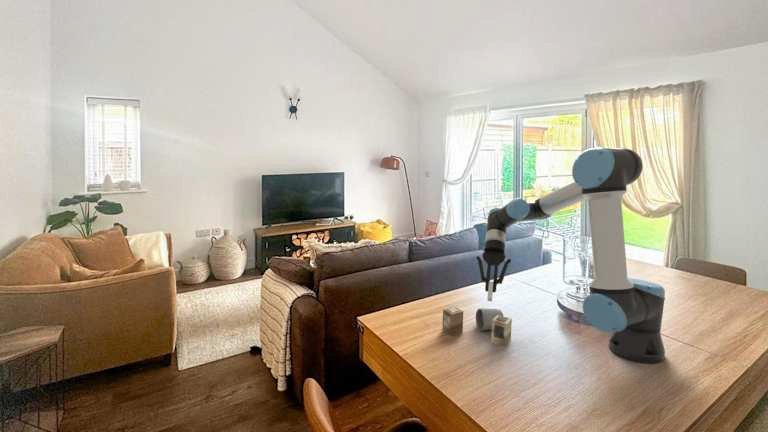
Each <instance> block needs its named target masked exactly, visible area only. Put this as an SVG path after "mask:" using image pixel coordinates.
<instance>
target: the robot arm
mask: <svg viewBox="0 0 768 432" xmlns="http://www.w3.org/2000/svg"><path fill="white" fill-rule="evenodd" d="M643 167H644V166H643V161H642V158H641V157H640V155H639V154H638V153H637V152H636V151H634V150H633V149H630V148H626V147H604V146H603V147H601V146H600V147H591V148H588V149H586V150H584V151H582V152H581V153H580V154H579V155H578V156H577V158H576V159H575V160H574V162H573V165H572V170H571V175H572V178H573V179H572V180H573V181H571V182H569V183H567V184H565V185H563V186H560V187H558V188H557V189H555V190H552V191H551V192H549V193H547V194H545V195H543V196H541V197H539V198H537V199H535V200H529V201H528V200H526V199H525V198H524V199H523V198H522V197H516V198H514V199H513V200H511V201H509V202H508V203H507V204H506V205H504V206H503V207H495V208H491V209H490V210H489V211H488V216H487V223H486V234H485V243H484V251H483V252H482V255H481V256H479V255H477V256H476V258H475V259H476V262H477V264H478V268H479V273H480V281H481V282H482V283H485V288H484V289H485V292H486V293H487V302H493V294H494V293H496V292H497V286H498V285H502V284H503V281H504V279H505V276H506V273H507V271H508V268H509V267H510V266H511V265H512V259H511V258H507V257H506V253H505V249H506V239H507V229H508V228H509V227H512V226H513V225H515V224H516V223H518V222H519V223H520V222H528V221H539V220H541V221H542V220H546V219H548V218H551V217H552V215H553V214H555V213H557V212H560V211H561V210H564V209H566V208H569V207H571V206H573V205H575V204H578V203H580V202H582V201H586V200H587V202H588V212H589V213H588V214H589V225H590V226H589V227H590V237H591V239H590V241H591V252H592V264H593V275H594V277H593V278H594V279H593V280H592V281H591V282H590V283H589V294H588V295H587V296H586V298H585V299H584V300H583V302H582V311H583V315H584V316H585V318H586V320H587V322H588V323H590V324H591V326H593V328H595V329H596V330H598V331H599V332H602V333H607V334H610V336H609V338H608V349H610V351H611V352H613V353H614V354H616V355H618V356H620V357H621V358H624V359H626V360H630V361H633V362H638V363H643V364H657V363H662V362H663V361H664V360H665V356H666V350H665V346H664V345H665V344H664V342H663V339H662V338H663V337H662V334H661V330H662V329H661V328H662V321H663V313H664V306H665V300H666V297H665V295H666V291H665V288H664V287H663V286H661V285H659V284H658V283H654V282H651V281H647V280H642V279H638V278H637V279H636V278H628V268H627V267H628V266H627V256H626V255H627V253H626V244H625V230H624V218H623V206H622V205H623V204H622V197H624V195H625V194H626V193H627V191H628V188H627V186H628V185H631V184H633V183H635V182H636V181H637V180H638V179H639V178H640V176H641V174H642V172H643ZM483 262H485V263H486V264H487V268H486V276H485V273H484V266H483ZM502 263H503V266H502V268H501V269H502V270H501V273H500V275H499V277H498V274H499V266H500V265H501V264H502ZM492 266H493V267H494V269H493V279H492V280H493V281H490V280H491V273H492Z"/></svg>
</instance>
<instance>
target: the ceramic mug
mask: <svg viewBox="0 0 768 432" xmlns="http://www.w3.org/2000/svg"><path fill="white" fill-rule="evenodd" d="M497 315H499V316H503V317H505V316H504V313H503V311H502V310H501V309H498V308H484V307H483V308H482V307H481V308H478V309H476V313H475V323H476V327H477V328H478V329H477V330H479V331H492V320H493V319H494V318H495V317H496V316H497Z"/></svg>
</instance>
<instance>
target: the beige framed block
mask: <svg viewBox="0 0 768 432" xmlns="http://www.w3.org/2000/svg"><path fill="white" fill-rule="evenodd" d="M503 316H504V315H503ZM503 316H499V315H497V316H496V317H495V318H494V319H493V320H492V330H491V334H490V335H491V338H490V343H491V344H494V345H497V346H501V347H507V346H508V345H509V344H510V343H511V341H512V338H511V337H512V323H513V322H512V321H513V319H512V318H511V317H507V316H504V317H503Z"/></svg>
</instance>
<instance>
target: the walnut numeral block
mask: <svg viewBox="0 0 768 432" xmlns="http://www.w3.org/2000/svg"><path fill="white" fill-rule="evenodd" d="M441 328H442V329H441V331H442V332H444V333H445V334H447V335H449V336H451V337H453V336H457V335H460V334H463V331H464V311H463V310H461V309H460V308H458V307H456V306H451V307H447V308H443V309H442V327H441Z"/></svg>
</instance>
